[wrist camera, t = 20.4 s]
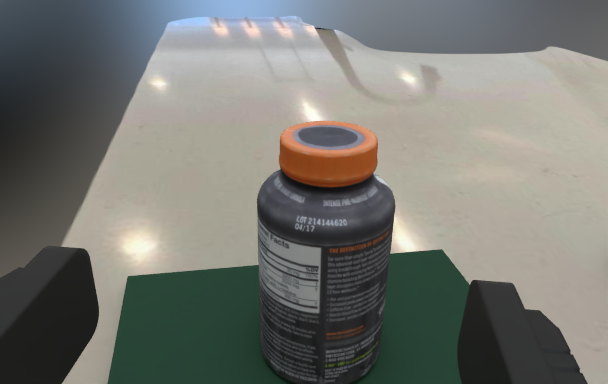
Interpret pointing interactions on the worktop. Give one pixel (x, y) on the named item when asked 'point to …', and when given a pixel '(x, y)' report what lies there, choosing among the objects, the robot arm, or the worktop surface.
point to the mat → (246, 326)
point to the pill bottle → (324, 254)
